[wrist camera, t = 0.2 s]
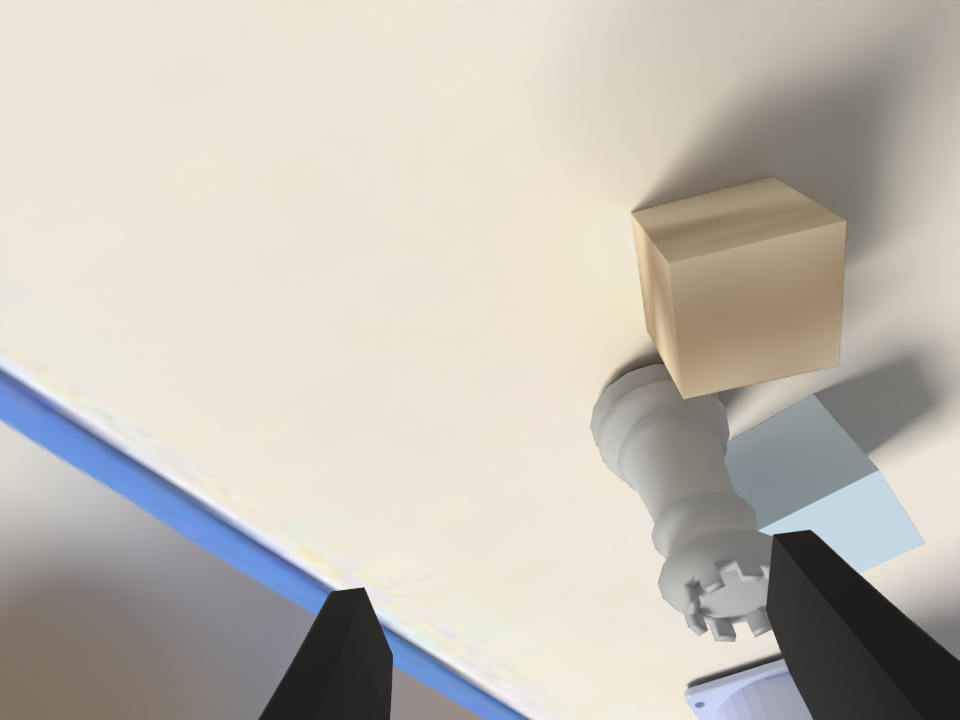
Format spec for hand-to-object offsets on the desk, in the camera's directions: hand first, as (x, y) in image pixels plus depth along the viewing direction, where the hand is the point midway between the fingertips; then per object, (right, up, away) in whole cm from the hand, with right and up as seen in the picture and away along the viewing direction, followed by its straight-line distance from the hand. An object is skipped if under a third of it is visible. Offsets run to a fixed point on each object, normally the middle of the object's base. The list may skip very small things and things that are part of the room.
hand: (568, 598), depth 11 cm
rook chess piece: (+4, +3, +10) cm, 12 cm away
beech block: (+5, +7, +7) cm, 12 cm away
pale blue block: (+10, +1, +12) cm, 15 cm away
